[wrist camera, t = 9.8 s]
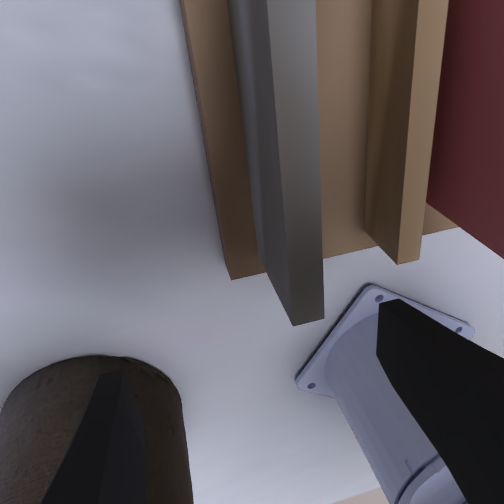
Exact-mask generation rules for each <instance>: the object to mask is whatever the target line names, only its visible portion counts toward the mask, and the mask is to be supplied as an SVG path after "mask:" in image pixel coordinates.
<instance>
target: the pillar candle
mask: <svg viewBox="0 0 504 504" xmlns="http://www.w3.org/2000/svg"><path fill="white" fill-rule="evenodd" d="M120 369H123V370H124V372H125V375H126V377H127V380H128V383H129V385H130V388H131V390H132V393H133V395H134V398H135V401H136V403H137V406H138V408H139V411H140V414H141V416H142V419H143V429H144V438H145V449H146V504H194V502H193V492H192V482H191V476H190V468H189V458H188V448H187V442H186V433H185V427H184V421H183V414H182V403H181V398H180V395H179V393H178V391H177V389H176V388H175V387H173V383H172V382H171V381H170V380H169V379H168V378H167V377H165V376H164V375H163V374H162V373H160V372H158V371H156V369H152V368H151V367H150V366H148V365H146V364H144V363H141V362H139V361H136V360H134V359H126V358H121V357H103V356H95V357H86V358H77V359H71V360H67V361H63V362H60V363H57V364H54V365H51V366H49V367H46V368H44V369H43V370H40V371H37V372H36V373H34V374H32V375H31V376H29V377H28V378H26V379H25V380H23V381H22V382H21V383H20V384H19V385H18V386H17V387H16V388H15V389H14V390H13V392H12V393H11V395H10V396H9V397H8V399H7V401H6V402H5V404H4V407H3V409H2V412H1V415H0V504H39V503H40V501H41V499H42V498H43V496H44V494H45V492H46V490H47V488H48V486H49V484H50V482H51V481H52V479H53V477H54V475H55V473H56V471H57V469H58V467H59V465H60V463H61V461H62V459H63V457H64V455H65V453H66V451H67V449H68V446H69V444H70V442H71V440H72V438H73V435H74V433H75V431H76V429H77V427H78V424H79V422H80V420H81V417H82V415H83V412H84V410H85V408H86V405H87V403H88V400H89V397H90V395H91V392H92V390H93V387H94V384H95V381H96V379H97V377H98V376H99V375H100V374H104V373H108V372H112V371H116V370H120Z"/></svg>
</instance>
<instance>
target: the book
mask: <svg viewBox="0 0 504 504" xmlns="http://www.w3.org/2000/svg"><path fill="white" fill-rule="evenodd" d="M426 203H427V204H428V205H430V206H431V207H433V208H434V209H435V210H437V211H438V212H440V213H441V214H442V215H444V216H445V217H446V218H448V219H449V220H451V221H452V222H453V223H455V224H456V225H458V226H459V227H460V228H462V229H463V230H464V231H466V232H467V233H469V234H470V235H471V236H473V237H474V238H475V239H477V240H478V241H480V242H481V243H482V244H484V245H485V246H487V247H488V248H489V249H491V250H492V251H493V252H495V253H496V254H498V255H499V256H500V257H502V258H503V259H504V0H449V2H448V11H447V20H446V28H445V37H444V46H443V55H442V63H441V72H440V81H439V90H438V99H437V107H436V116H435V125H434V134H433V142H432V151H431V160H430V169H429V177H428V186H427V195H426Z"/></svg>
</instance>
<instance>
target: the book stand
mask: <svg viewBox="0 0 504 504" xmlns="http://www.w3.org/2000/svg"><path fill="white" fill-rule="evenodd" d="M448 2H449V0H180V5H181V11H182V17H183V23H184V28H185V34H186V40H187V46H188V52H189V57H190V63H191V69H192V75H193V80H194V86H195V92H196V98H197V103H198V109H199V115H200V121H201V126H202V132H203V138H204V144H205V150H206V155H207V161H208V167H209V173H210V178H211V184H212V190H213V196H214V201H215V207H216V213H217V219H218V225H219V230H220V236H221V242H222V248H223V253H224V259H225V264H226V267H227V270H228V272H229V275H230V278H231V280H235V279H239V278H243V277H248V276H252V275H256V274H260V273H265V272H267V274H268V276H269V278H270V281H271V283H272V285H273V287H274V289H275V291H276V293H277V295H278V297H279V299H280V301H281V303H282V305H283V307H284V309H285V311H286V313H287V315H288V317H289V319H290V321H291V323H292V325H293V326H297V325H301V324H305V323H309V322H312V321H316V320H320V319H324V286H323V259H324V258H328V257H333V256H337V255H341V254H345V253H350V252H354V251H358V250H362V249H367V248H371V247H375V246H379V247H380V248H381V249H382V250H383V251H384V252H385V253H386V254H387V255H388V256H389V257H390V258H391V259H392V260H393V261H394V262H395V263H396V264H397V265H399V264H403V263H407V262H411V261H415V260H419V256H420V248H421V239H422V235H426V234H430V233H435V232H439V231H443V230H447V229H452V228H456V227H459V226H458V225H456V224H455V223H453V222H452V221H451V220H449V219H448V218H446V217H445V216H444V215H442V214H441V213H440V212H438V211H437V210H435V209H434V208H433V207H431V206H430V205H428V204H427V203H426V195H427V186H428V177H429V169H430V160H431V151H432V142H433V134H434V125H435V116H436V107H437V99H438V90H439V81H440V72H441V63H442V55H443V46H444V37H445V28H446V20H447V11H448Z"/></svg>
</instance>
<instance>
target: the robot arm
mask: <svg viewBox="0 0 504 504" xmlns="http://www.w3.org/2000/svg"><path fill="white" fill-rule="evenodd" d="M378 295H379V296H378ZM377 296H378V297H377ZM376 297H377V298H376ZM474 333H475V329H474V328H473V327H472V326H471V325H470V324H467V323H465V322H462V321H460V320H458V319H455V318H453V317H450V316H448V315H446V314H443V313H441V312H438V311H436V310H433V309H431V308H429V307H426V306H424V305H421V304H419V303H416V302H414V301H412V300H409V299H407V298H404V297H402V296H399V295H397V294H395V293H392V292H390V291H387V290H385V289H383V288H380V287H378V286H375V285H370V286H367V287H366V288H365V289H364V290H363V291H362V292H361V294H360V295H359V296H358V298H357V299H356V300H355V302H354V303H353V304H352V306H351V307H350V308H349V310H348V311H347V312H346V314H345V315H344V316H343V318H342V319H341V320H340V322H339V323H338V324H337V326H336V327H335V328H334V330H333V331H332V332H331V334H330V335H329V336H328V338H327V339H326V340H325V342H324V343H323V344H322V345H321V347H320V348H319V349H318V351H317V352H316V353H315V355H314V356H313V357H312V359H311V360H310V361H309V363H308V364H307V365H306V367H305V368H304V369H303V371H302V372H301V373H300V375H299V376H298V377H297V379H296V381H295V383H296V385H297V387H298V389H300V390H304V391H308V392H313V393H317V394H321V395H325V396H329V397H333V398H336V399H337V401H338V403H339V405H340V407H341V409H342V411H343V413H344V415H345V417H346V419H347V421H348V423H349V425H350V427H351V429H352V431H353V433H354V435H355V437H356V439H357V441H358V443H359V445H360V446H361V448H362V450H363V452H364V454H365V456H366V458H367V460H368V462H369V464H370V466H371V468H372V470H373V472H374V474H375V476H376V478H377V480H378V482H379V484H380V486H381V488H382V490H383V492H384V494H385V495H386V498H387V499H388V501H389V503H390V504H504V358H502V357H500V356H498V355H496V354H494V353H492V352H490V351H488V350H486V349H484V348H482V347H481V346H479V345H477V344H475V343H473V342H472V341H470V338H471V337H472V336H473V335H474ZM310 383H311V384H310ZM39 504H146V449H145V438H144V429H143V419H142V416H141V414H140V411H139V408H138V406H137V403H136V401H135V398H134V395H133V393H132V390H131V388H130V385H129V383H128V380H127V377H126V375H125V372H124V370H123V369H120V370H116V371H112V372H108V373H104V374H100V375H99V376H98V377H97V379H96V381H95V384H94V387H93V390H92V392H91V395H90V397H89V400H88V403H87V405H86V408H85V410H84V412H83V415H82V417H81V420H80V422H79V424H78V427H77V429H76V431H75V433H74V435H73V438H72V440H71V442H70V444H69V446H68V449H67V451H66V453H65V455H64V457H63V459H62V461H61V463H60V465H59V467H58V469H57V471H56V473H55V475H54V477H53V479H52V481H51V482H50V484H49V486H48V488H47V490H46V492H45V494H44V496H43V498H42V499H41V501H40V503H39Z"/></svg>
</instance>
